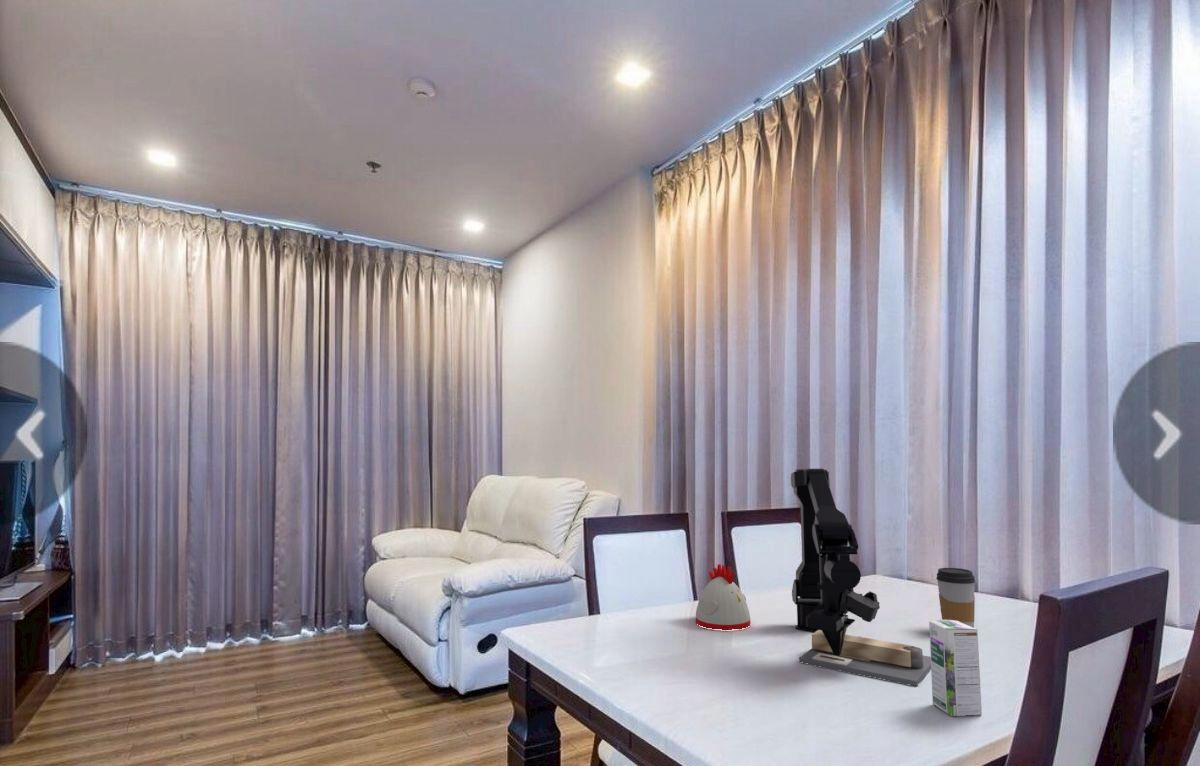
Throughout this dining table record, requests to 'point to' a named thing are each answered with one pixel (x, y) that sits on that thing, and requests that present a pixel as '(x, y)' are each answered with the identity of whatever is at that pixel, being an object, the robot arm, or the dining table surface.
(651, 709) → the dining table surface
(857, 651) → the swing arm
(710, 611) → the kitchen timer
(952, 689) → the syrup box
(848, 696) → the dining table surface
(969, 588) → the coffee cup
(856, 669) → the label panel
